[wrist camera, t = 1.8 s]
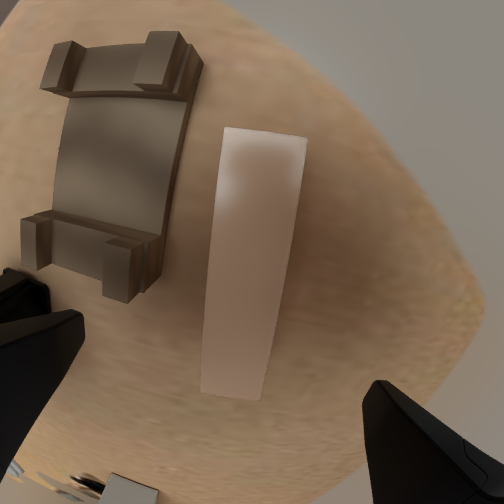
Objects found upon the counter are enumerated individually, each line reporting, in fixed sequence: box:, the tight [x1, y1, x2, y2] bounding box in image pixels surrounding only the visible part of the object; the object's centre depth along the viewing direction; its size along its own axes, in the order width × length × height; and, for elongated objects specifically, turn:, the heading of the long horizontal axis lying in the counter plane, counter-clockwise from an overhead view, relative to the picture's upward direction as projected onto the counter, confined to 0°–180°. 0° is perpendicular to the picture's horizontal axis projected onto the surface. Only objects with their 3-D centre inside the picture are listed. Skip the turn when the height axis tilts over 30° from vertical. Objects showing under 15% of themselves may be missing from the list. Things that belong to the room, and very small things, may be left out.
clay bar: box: [200, 127, 308, 401], centre depth 15 cm, size 14×4×5 cm, turn 172°
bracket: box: [20, 31, 203, 304], centre depth 14 cm, size 14×9×5 cm, turn 167°
